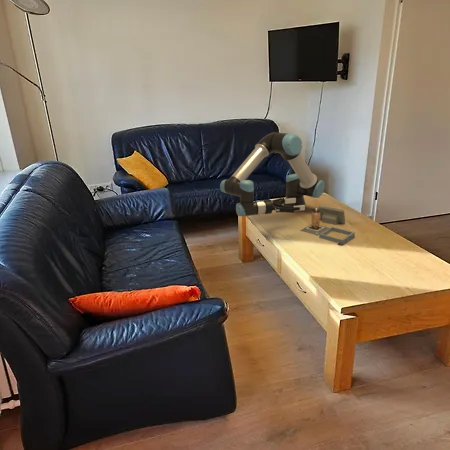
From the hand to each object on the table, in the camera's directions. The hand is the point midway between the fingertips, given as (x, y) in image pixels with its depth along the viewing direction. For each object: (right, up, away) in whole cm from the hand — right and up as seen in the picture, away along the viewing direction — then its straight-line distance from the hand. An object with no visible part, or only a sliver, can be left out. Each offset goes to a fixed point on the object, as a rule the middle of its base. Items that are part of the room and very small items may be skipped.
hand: (300, 203), depth 223 cm
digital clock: (+23, -11, +19) cm, 32 cm away
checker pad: (+10, -15, +8) cm, 20 cm away
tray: (+20, -19, -3) cm, 28 cm away
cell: (+10, -14, +8) cm, 19 cm away
